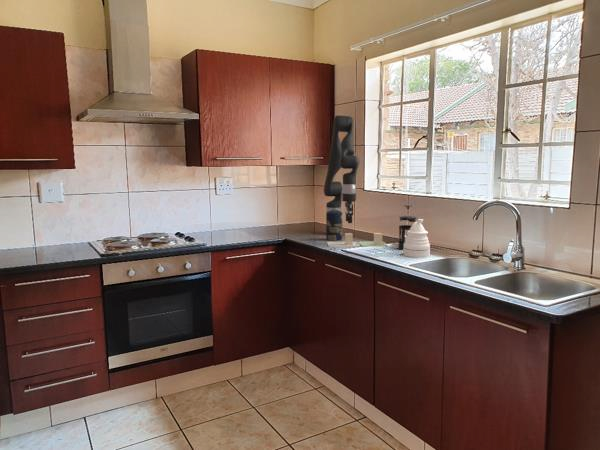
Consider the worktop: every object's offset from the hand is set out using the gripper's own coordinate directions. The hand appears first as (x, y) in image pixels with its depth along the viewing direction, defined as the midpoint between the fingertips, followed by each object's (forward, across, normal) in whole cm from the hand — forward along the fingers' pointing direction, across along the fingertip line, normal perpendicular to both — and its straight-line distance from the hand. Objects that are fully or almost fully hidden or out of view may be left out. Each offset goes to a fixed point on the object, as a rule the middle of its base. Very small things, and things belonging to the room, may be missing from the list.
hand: (348, 222), depth 262 cm
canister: (+13, -17, -6) cm, 22 cm away
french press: (+13, +11, +30) cm, 34 cm away
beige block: (+12, 0, 0) cm, 13 cm away
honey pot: (+13, +28, +30) cm, 43 cm away
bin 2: (+13, 0, +13) cm, 19 cm away
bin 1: (+13, 0, -3) cm, 13 cm away
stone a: (+12, 0, +16) cm, 21 cm away
